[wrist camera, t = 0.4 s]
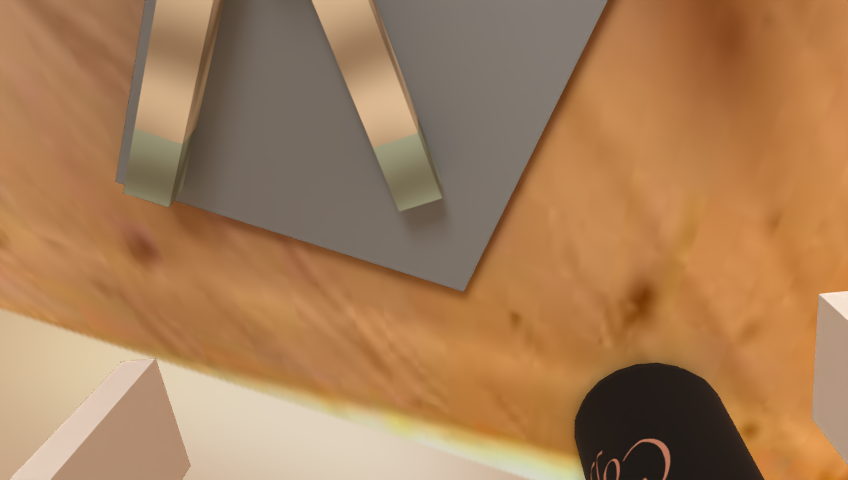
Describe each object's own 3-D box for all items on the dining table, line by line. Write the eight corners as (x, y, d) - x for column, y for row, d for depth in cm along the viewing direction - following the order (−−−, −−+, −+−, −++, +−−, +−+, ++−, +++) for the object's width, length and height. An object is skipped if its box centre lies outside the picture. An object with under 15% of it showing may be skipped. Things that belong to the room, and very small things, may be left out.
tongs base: (212, -219, 30) (180, -230, 26) (320, -172, 30) (305, -176, 27) (139, 174, 39) (108, 210, 35) (224, 201, 40) (202, 238, 36)
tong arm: (292, -74, 32) (283, -69, 30) (340, -93, 32) (334, -89, 30) (400, 191, 39) (399, 211, 37) (441, 179, 39) (442, 198, 37)
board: (195, -249, 30) (187, -253, 29) (628, -59, 34) (635, -56, 33) (123, 173, 40) (115, 181, 39) (462, 281, 44) (463, 291, 43)
